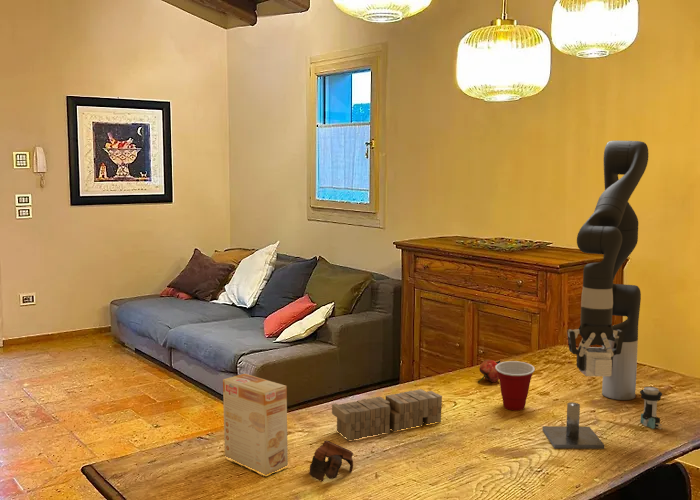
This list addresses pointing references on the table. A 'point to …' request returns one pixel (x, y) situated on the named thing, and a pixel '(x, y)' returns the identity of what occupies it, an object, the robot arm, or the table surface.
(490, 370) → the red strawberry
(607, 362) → the grey hollow block
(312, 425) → the table surface
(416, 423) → the block tower
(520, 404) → the plastic cup
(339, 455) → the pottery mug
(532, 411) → the table surface
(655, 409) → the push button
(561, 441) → the gray square plate
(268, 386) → the coffeecake box
